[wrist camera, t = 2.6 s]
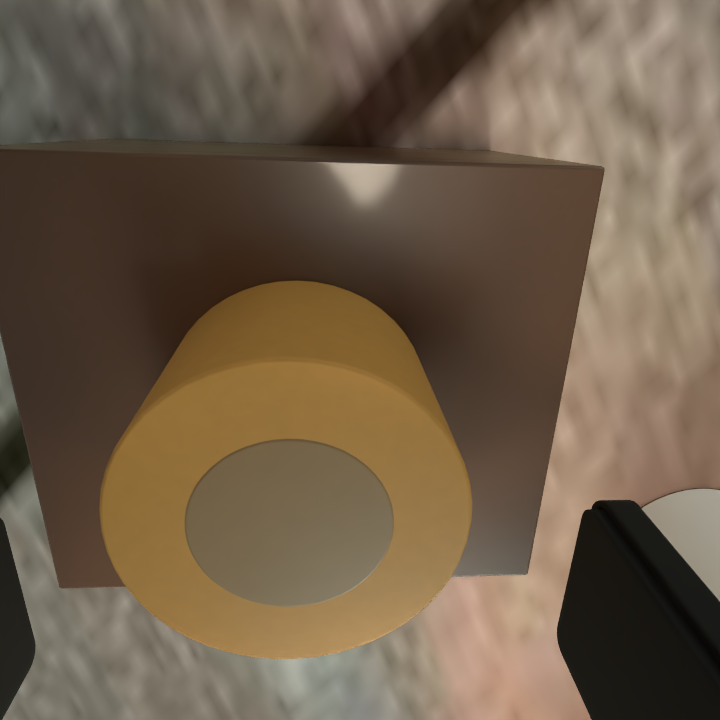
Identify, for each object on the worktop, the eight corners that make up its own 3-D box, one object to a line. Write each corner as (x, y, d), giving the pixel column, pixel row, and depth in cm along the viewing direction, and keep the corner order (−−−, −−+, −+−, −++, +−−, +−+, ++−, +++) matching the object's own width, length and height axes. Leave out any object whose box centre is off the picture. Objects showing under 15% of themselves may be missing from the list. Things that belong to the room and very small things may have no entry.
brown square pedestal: (146, 432, 24) (58, 589, 16) (106, 138, 20) (-45, 147, 11) (459, 429, 25) (528, 576, 17) (491, 150, 21) (606, 166, 13)
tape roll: (180, 511, 15) (124, 668, 11) (153, 277, 13) (66, 358, 8) (416, 506, 16) (454, 655, 11) (435, 281, 13) (495, 358, 9)
